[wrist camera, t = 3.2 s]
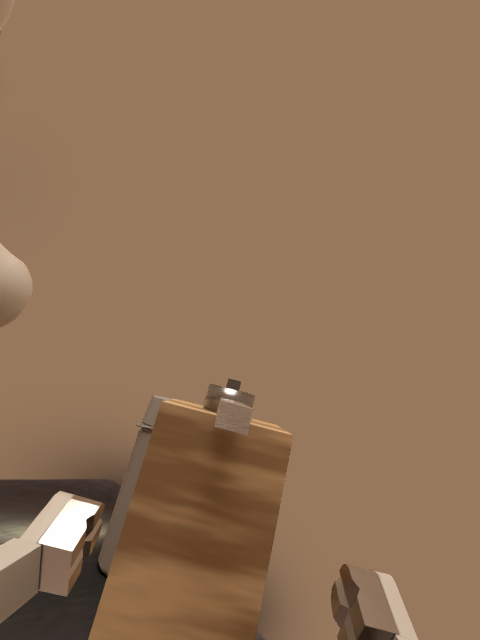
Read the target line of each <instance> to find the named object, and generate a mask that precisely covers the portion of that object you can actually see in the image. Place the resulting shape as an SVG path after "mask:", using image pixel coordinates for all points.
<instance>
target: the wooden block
mask: <svg viewBox="0 0 480 640" xmlns="http://www.w3.org/2000/svg"><path fill="white" fill-rule="evenodd" d="M215 419H216V413H215V412H212V411H209V410H206V409H204V408H203V405H200V404H196V403H193V402H189V401H185V400H181V399H173V400H167V401H161V404H160V408H159V411H158V414H157V417H156V421H155V424H154V427H153V430H152V434H151V437H150V440H149V443H148V447H147V450H146V453H145V456H144V460H143V463H142V466H141V469H140V473H139V476H138V479H137V482H136V486H135V489H134V492H133V495H132V499H131V502H130V505H129V508H128V512H127V515H126V518H125V521H124V525H123V528H122V531H121V535H120V538H119V541H118V544H117V548H116V551H115V554H114V557H113V561H112V564H111V567H110V570H109V574H108V577H107V580H106V583H105V587H104V590H103V593H102V596H101V600H100V603H99V606H98V609H97V613H96V616H95V619H94V622H93V626H92V629H91V632H90V635H89V639H88V640H255V635H256V629H257V624H258V619H259V614H260V608H261V603H262V598H263V592H264V587H265V581H266V577H267V572H268V566H269V561H270V556H271V550H272V545H273V540H274V534H275V529H276V524H277V519H278V514H279V508H280V503H281V498H282V493H283V487H284V482H285V477H286V472H287V466H288V461H289V456H290V451H291V445H292V440H293V435H292V434H290V433H289V432H287V431H285V430H283V429H282V428H280V427H278V426H277V425H275V424H273V423H270V422H266V421H262V420H258V419H254V418H251V422H250V427H249V431H248V435H245V434H241V433H237V432H233V431H229V430H225V429H221V428H217V427H214V424H215Z"/></svg>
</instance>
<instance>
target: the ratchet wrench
mask: <svg viewBox="0 0 480 640" xmlns="http://www.w3.org/2000/svg"><path fill="white" fill-rule="evenodd" d="M240 383H241V382H240V381H236V380H232V379H228V382H227V386H226V388H225V387H221V386H217V385H213V384H209V387H208V391H207V395H206V398H205V402H204V405H203V408H204V409H206V410H209V411H212V412H215V413H216V419H215V424H214V427H217V428H221V429H225V430H229V431H233V432H237V433H241V434H245V435H248V431H249V427H250V422H251V418H252V413H253V403H254V399H255V395H251V394H248V393H244V392H241V391H239V388H240Z"/></svg>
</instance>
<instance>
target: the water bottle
mask: <svg viewBox="0 0 480 640" xmlns="http://www.w3.org/2000/svg"><path fill="white" fill-rule="evenodd" d="M167 400H173V399H169V398H165V397H160V396H152V398H151V401H150V403H149V405H148V408H147V410H146V412H145V415H144V417H143V419H142V421H143V422H141V424H137V426H139V427H142V428H141V429H140V430H139V432H138V435H137V439H136V442H135V445H134V448H133V451H132V454H131V457H130V461H129V464H128V467H127V470H126V473H125V476H124V479H123V482H122V486H121V489H120V492H119V495H118V498H117V501H116V504H115V508H114V511H113V514H112V517H111V520H110V523H109V526H108V529H107V533H106V536H105V539H104V542H103V545H102V548H101V551H100V555H99V558H98V561H99V566H100V569H101V571H102V572H103V573H105V574H106V575H107V576H108V574H109V570H110V567H111V564H112V561H113V557H114V554H115V551H116V548H117V544H118V541H119V538H120V535H121V531H122V528H123V525H124V521H125V518H126V515H127V512H128V508H129V505H130V502H131V499H132V495H133V492H134V489H135V486H136V482H137V479H138V476H139V473H140V469H141V466H142V463H143V460H144V456H145V453H146V450H147V447H148V443H149V440H150V437H151V434H152V430H153V427H154V424H155V421H156V417H157V414H158V411H159V408H160V404H161V401H167Z"/></svg>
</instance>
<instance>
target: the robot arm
mask: <svg viewBox="0 0 480 640" xmlns="http://www.w3.org/2000/svg"><path fill="white" fill-rule="evenodd" d="M14 2H15V0H0V31H1V29H2V28H3V27H4V25H5V24H6V22H7V20H8V18H9V16H10V14H11V11H12V8H13V5H14ZM32 288H33V285H32V279H31V275H30V274H29V271H28V269H27V267H26V265H25V264H24V263H23V262H21V261H20V260H19V259H18V258H16V257H15V256H14V255H12V254H11V253H10V252H9V251H8V250H7V249H6V248H5V247H3V246H2V245H1V244H0V327H2V326H5V325H7V324H9V323H11V322H12V321H14V320H15V319H16V318H18V317H19V316H20V315H21V314H22V313H23V312H24V311H25V309H26V308H27V306H28V304H29V302H30V300H31V297H32V290H33V289H32ZM103 512H104V503H101V502H97V501H94V500H90V499H87V498H83V497H80V496H76V495H73V494H69V493H65V492H61V491H59V492H58V493H57V494H55V495H54V496H53V498H52V499H51V500H50V501H49V503H48V504H47V505H46V506H45V507H44V509H43V510H42V511H41V512H40V514H39V515H38V516H37V517H36V518H35V520H34V521H33V522H32V523H31V525H30V526H29V527H28V528H27V529H26V531H25V532H24V533H23V534H22V536H21V537H20V538H19V539H17V538H13V539H11V540H9V541H7V542H6V543H4V544H2V545H0V623H1V622H3V621H4V620H5V619H6V618H8V617H9V616H10V615H11V614H12V613H14V612H15V611H16V610H17V609H18V608H20V607H21V606H22V605H23V604H25V603H26V602H27V601H28V600H29V599H31V598H32V597H33V596H34V595H35V594H37V593H38V590H39V591H44V592H49V593H53V594H58V595H63V596H68V594H69V592H70V590H71V588H72V586H73V585H74V583H75V581H76V579H77V577H78V576H79V574H80V572H81V566H82V561H83V560H84V559H86V558H87V557H88V556H89V555H90V554H91V552H92V550H93V548H94V546H95V544H96V541H97V539H98V536H99V534H100V530H101V526H102V520H101V519H100V517H101V515H102V513H103ZM340 575H341V578H339V579H337V580H335V582H334V584H333V587H332V594H331V606H332V612H333V617H334V619H335V621H336V622H337V624H338V625H339V627H340V630H339V633H338V636H337V637H338V640H418V638H417V636H416V633H415V631H414V628H413V626H412V624H411V621H410V618H409V616H408V613H407V611H406V609H405V606H404V604H403V601H402V599H401V596H400V594H399V591H398V589H397V586H396V584H395V582H394V579H393V578H392V577H391V575H388V574H384V573H380V572H376V571H373V570H370V569H365V568H361V567H357V566H353V565H348V564H344V565H342V567H341V569H340Z"/></svg>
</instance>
